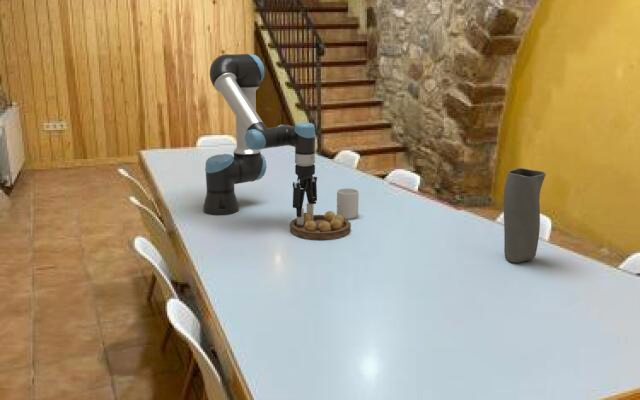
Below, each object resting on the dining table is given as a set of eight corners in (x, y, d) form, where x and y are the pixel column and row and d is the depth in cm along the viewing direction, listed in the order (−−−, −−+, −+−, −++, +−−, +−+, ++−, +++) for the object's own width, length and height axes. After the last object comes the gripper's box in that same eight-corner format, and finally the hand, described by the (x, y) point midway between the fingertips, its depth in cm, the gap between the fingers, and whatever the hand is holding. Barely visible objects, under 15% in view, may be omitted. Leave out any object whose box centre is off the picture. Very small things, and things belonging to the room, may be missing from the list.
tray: (278, 233, 222) (278, 226, 221) (311, 218, 241) (311, 211, 240) (330, 244, 210) (330, 237, 209) (360, 227, 229) (360, 220, 228)
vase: (517, 268, 189) (527, 178, 181) (490, 256, 199) (498, 170, 191) (544, 262, 194) (555, 174, 186) (517, 250, 205) (525, 166, 197)
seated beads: (301, 232, 219) (301, 221, 217) (327, 220, 234) (327, 209, 233) (328, 238, 213) (328, 226, 211) (353, 225, 228) (353, 213, 227)
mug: (360, 219, 239) (361, 193, 236) (340, 220, 237) (340, 194, 234) (351, 211, 251) (352, 186, 248) (332, 212, 248) (332, 187, 245)
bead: (297, 224, 228) (297, 213, 227) (304, 222, 231) (304, 210, 230) (307, 226, 225) (307, 215, 224) (313, 223, 229) (313, 212, 228)
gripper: (299, 169, 212) (299, 230, 219) (326, 160, 228) (326, 217, 234) (282, 167, 216) (283, 226, 222) (310, 158, 232) (310, 214, 238)
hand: (305, 221), depth 228 cm, fingers open, 6 cm apart
